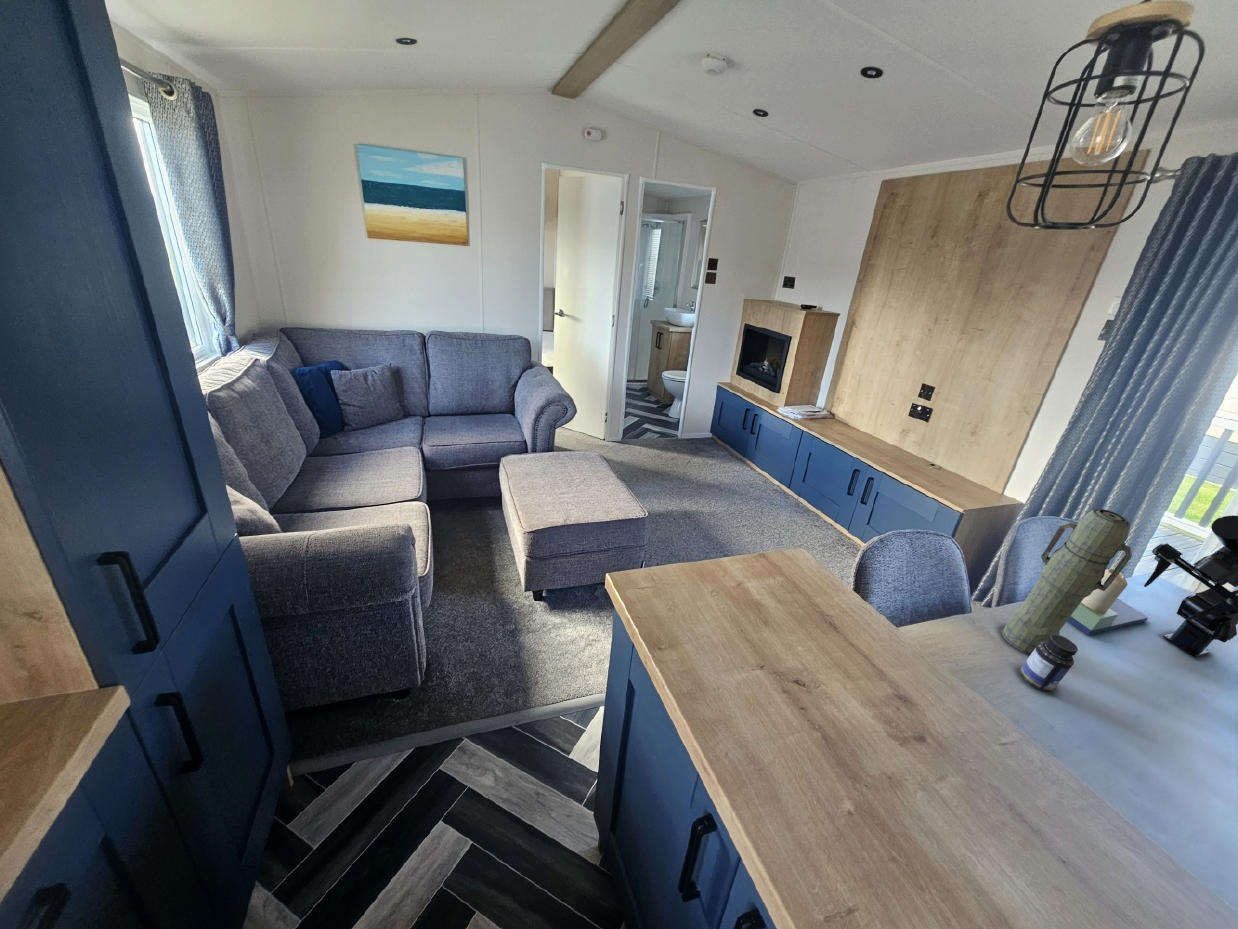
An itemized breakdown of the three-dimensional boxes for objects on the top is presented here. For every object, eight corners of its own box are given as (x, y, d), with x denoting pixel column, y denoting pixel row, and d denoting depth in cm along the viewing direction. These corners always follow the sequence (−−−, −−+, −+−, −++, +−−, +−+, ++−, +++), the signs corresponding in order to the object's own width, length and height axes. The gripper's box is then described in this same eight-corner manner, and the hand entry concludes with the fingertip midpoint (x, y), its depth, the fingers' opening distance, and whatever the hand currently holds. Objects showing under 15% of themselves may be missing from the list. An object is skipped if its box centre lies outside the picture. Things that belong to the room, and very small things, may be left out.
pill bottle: (1046, 675, 110) (1075, 638, 105) (1058, 697, 104) (1088, 659, 99) (1014, 664, 111) (1041, 627, 106) (1024, 685, 106) (1052, 647, 101)
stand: (1110, 600, 139) (1123, 584, 136) (1145, 622, 132) (1158, 606, 130) (1054, 611, 131) (1066, 595, 128) (1087, 635, 124) (1101, 618, 122)
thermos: (998, 617, 125) (1078, 495, 109) (1055, 648, 118) (1151, 523, 102) (989, 634, 119) (1073, 507, 103) (1050, 667, 112) (1150, 537, 96)
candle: (1104, 616, 123) (1129, 583, 118) (1076, 601, 126) (1100, 570, 122) (1108, 607, 126) (1133, 576, 121) (1081, 594, 129) (1104, 562, 125)
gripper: (1190, 520, 113) (1124, 566, 118) (1297, 588, 101) (1219, 636, 106) (1184, 529, 121) (1123, 572, 126) (1283, 593, 109) (1210, 637, 114)
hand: (1166, 602), depth 118 cm, fingers open, 9 cm apart
